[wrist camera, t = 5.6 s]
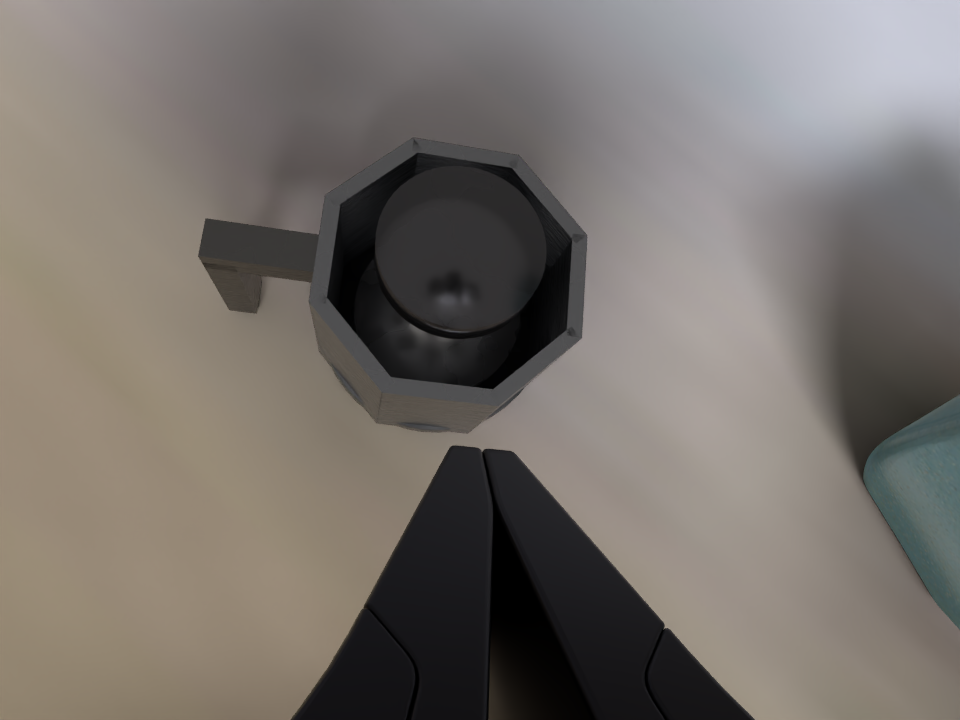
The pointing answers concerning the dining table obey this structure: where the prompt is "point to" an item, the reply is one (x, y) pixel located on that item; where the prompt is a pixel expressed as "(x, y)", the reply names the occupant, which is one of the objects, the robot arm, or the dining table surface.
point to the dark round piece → (449, 276)
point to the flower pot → (924, 498)
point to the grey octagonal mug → (351, 247)
